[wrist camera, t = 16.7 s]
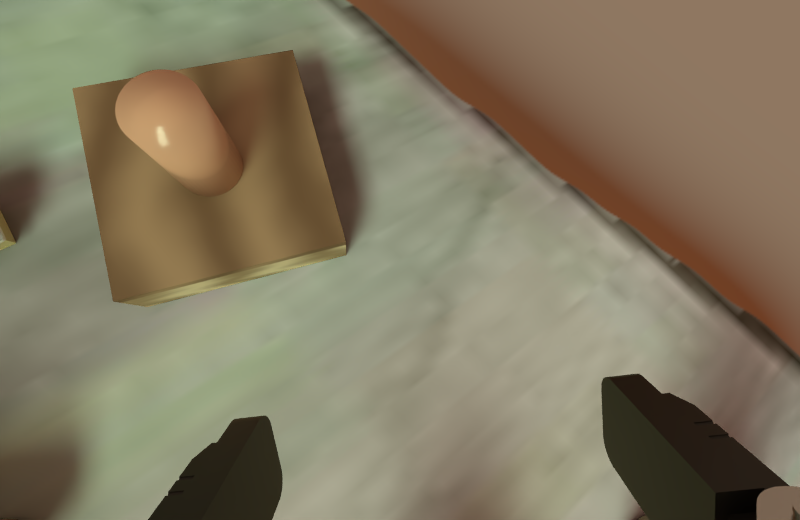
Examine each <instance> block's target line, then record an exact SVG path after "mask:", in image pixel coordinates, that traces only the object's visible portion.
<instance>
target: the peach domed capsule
mask: <svg viewBox="0 0 800 520" xmlns="http://www.w3.org/2000/svg"><path fill="white" fill-rule="evenodd" d="M115 115H116V120H117V122H118V125H119V127H120V128H121V130H122V131H123V133H124V134H125V135H126V136H127V137H128V138H129V139H131V140H132V141H133V142H134V143H135V144H136V145H138V146H139V147H140V148H141V149H142V150H143V151H144V152H146V153H147V154H148V155H149V156H150V157H151V158H152V159H154V160H155V161H156V162H157V163H158V164H159V165H160V166H162V167H163V168H164V169H165V170H166V171H167V172H168V173H170V174H171V175H172V176H173V177H174V178H175V179H176V180H178V181H179V182H180V183H181V184H182V185H183V186H184V187H186V188H187V189H188V190H189V191H191V192H193V193H194V194H197V195H200V196H206V197H212V196H218V195H221V194H224V193H226V192H228V191H229V190H231V189H232V188H233V187H234V186H235V185H236V184H237V183H238V181H239V180H240V177H241V175H242V172H243V160H242V156H241V154H240V152H239V151H238V149H237V147H236V146H235V144H234V143H233V141H232V140H231V138H230V136H229V135H228V133H227V132H226V130H225V128H224V127H223V125H222V124H221V122H220V121H219V119H218V117H217V116H216V114H215V113H214V111H213V109H212V108H211V106H210V105H209V103H208V102H207V100H206V98H205V97H204V95H203V94H202V92H201V90H200V89H199V87H198V86H197V85H196V84H195V83H194V82H193V81H192V80H191V79H190V78H188V77H187V76H185V75H183V74H181V73H178V72H175V71H171V70H152V71H148V72H145V73H142V74H140V75H138V76H136V77H134V78H133V79H132V80H130V81H129V82H128V83H127V84H126V85H125V86H124V87H123V89H122V90H121V92H120V93H119V95H118V98H117V101H116V105H115Z"/></svg>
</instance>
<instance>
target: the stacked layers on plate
mask: <svg viewBox="0 0 800 520" xmlns="http://www.w3.org/2000/svg"><path fill="white" fill-rule="evenodd" d="M15 243H16V242H15V240H14V238H13V236H12V233H11V231H10V229H9V227H8V225H7V223H6V221H5V219H4V217H3V214H2V212H1V210H0V250H2V249H4V248H6V247H9V246H11V245H13V244H15Z"/></svg>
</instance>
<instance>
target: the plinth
mask: <svg viewBox="0 0 800 520" xmlns="http://www.w3.org/2000/svg"><path fill="white" fill-rule="evenodd" d="M175 72H178V73H181V74H183V75H185V76H187V77H188V78H190V79H191V80H192V81H193V82H194V83H195V84H196V85H197V86H198V87H199V89H200V90H201V92H202V94H203V95H204V97H205V98H206V100H207V102H208V103H209V105H210V106H211V108H212V109H213V111H214V113H215V114H216V116H217V117H218V119H219V121H220V122H221V124H222V125H223V127H224V128H225V130H226V132H227V133H228V135H229V136H230V138H231V140H232V141H233V143H234V144H235V146H236V147H237V149H238V151H239V152H240V154H241V156H242V160H243V172H242V175H241V177H240V180H239V181H238V183H237V184H236V185H235V186H234V187H233V188H232V189H231V190H229V191H228V192H226V193H224V194H221V195H218V196H212V197H206V196H200V195H197V194H194V193H193V192H191V191H189V190H188V189H187V188H186V187H184V186H183V185H182V184H181V183H180V182H179V181H178V180H176V179H175V178H174V177H173V176H172V175H171V174H170V173H168V172H167V171H166V170H165V169H164V168H163V167H162V166H160V165H159V164H158V163H157V162H156V161H155V160H154V159H152V158H151V157H150V156H149V155H148V154H147V153H146V152H144V151H143V150H142V149H141V148H140V147H139V146H138V145H136V144H135V143H134V142H133V141H132V140H131V139H129V138H128V137H127V136H126V135H125V134H124V133H123V131H122V130H121V128H120V127H119V125H118V122H117V120H116V115H115V105H116V101H117V98H118V95H119V93H120V92H121V90H122V89H123V87H124V86H125V85H126V84H127V83H128V82H129V81H130V80H132V79H133V78H129V79H123V80H118V81H112V82H106V83H100V84H95V85H89V86H83V87H78V88H73V93H74V99H75V104H76V109H77V114H78V119H79V125H80V130H81V135H82V140H83V146H84V151H85V156H86V161H87V167H88V172H89V177H90V182H91V187H92V193H93V198H94V203H95V208H96V214H97V219H98V224H99V229H100V235H101V240H102V245H103V250H104V256H105V261H106V266H107V271H108V276H109V282H110V287H111V292H112V297H113V301H114V302H120V303H126V304H133V305H139V306H145V307H149V306H153V305H157V304H161V303H165V302H168V301H172V300H176V299H180V298H184V297H188V296H191V295H195V294H199V293H203V292H207V291H211V290H214V289H218V288H222V287H226V286H230V285H233V284H237V283H241V282H245V281H249V280H253V279H256V278H260V277H264V276H268V275H272V274H275V273H279V272H283V271H287V270H291V269H295V268H298V267H302V266H306V265H310V264H314V263H318V262H321V261H325V260H329V259H333V258H337V257H340V256H344V255H346V240H345V237H344V233H343V229H342V226H341V222H340V219H339V215H338V211H337V208H336V204H335V201H334V197H333V193H332V190H331V186H330V183H329V179H328V176H327V172H326V168H325V165H324V161H323V158H322V154H321V150H320V147H319V143H318V140H317V136H316V132H315V129H314V125H313V122H312V118H311V114H310V111H309V107H308V104H307V100H306V97H305V93H304V89H303V86H302V82H301V79H300V75H299V71H298V68H297V64H296V61H295V57H294V53H293V50H290V51H284V52H278V53H273V54H267V55H261V56H255V57H250V58H244V59H238V60H232V61H227V62H221V63H215V64H209V65H204V66H198V67H192V68H187V69H181V70H175Z"/></svg>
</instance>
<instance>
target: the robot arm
mask: <svg viewBox="0 0 800 520" xmlns="http://www.w3.org/2000/svg"><path fill="white" fill-rule="evenodd" d="M602 415H603V438H604V444H605V448H606V451H607V454H608V457H609V459H610V461H611V463H612V465H613V467H614V468H615V470H616V471H617V473H618V474H619V476H620V477H621V479H622V480H623V482H624V483H625V485H626V486H627V488H628V489H629V491H630V492H631V494H632V495H633V497H634V498H635V499H636V501H637V502H638V504H639V505H640V507H641V508H642V510H643V511H644V513H645V514H646V515H645V516H642V517H641V518H639V519H638V520H800V487H793V486H789V485H788V484H787V483H785V482H784V481H783V480H782V479H781V478H780V477H778V476H777V475H776V474H775V473H774V472H773V471H771V470H770V469H769V468H768V467H767V466H765V465H764V464H763V463H762V462H761V461H760V460H758V459H757V458H756V457H755V456H754V455H753V454H751V453H750V452H749V451H748V450H747V449H745V448H744V447H743V446H742V445H741V444H740V443H738V442H737V441H736V440H735V439H734V438H733V437H729V436H728V433H727V432H725V431H724V430H723V429H722V428H721V427H720V426H718V425H717V424H713V421H712V420H711V419H710V418H709V417H708V416H707V415H705V414H704V413H703V412H702V411H701V410H700V409H698V408H697V407H696V406H695V405H693V404H691V403H689V402H687V401H685V400H683V399H681V398H679V397H677V396H675V395H672V394H670V393H665V394H661V393H660V392H659V391H658V390H657V389H656V388H655V387H654V386H653V385H652V384H650V383H649V382H648V381H647V380H646V379H645V378H644V377H643V376H642V375H640V374H630V375H622V376H613V377H605V378H604V379H603V381H602ZM281 492H282V470H281V465H280V461H279V457H278V452H277V448H276V444H275V440H274V435H273V431H272V427H271V423H270V420H269V419H268V417H267V416H257V417H248V418H239V419H234V420H233V421H232V422H231V423H230V425H229V426H228V427H227V429H226V430H225V432H224V433H223V435H222V436H221V438H220V439H219V441H218V442H217V443H211V444H210V445H209V446H208V447H207V448H205V449H204V450H203V451H202V452H200V453H199V454H198V455H197V456H196V457H194V458H193V459H192V460H191V462H190V463H189V464H188V466H187V467H186V468H185V470H184V471H183V473H182V474H181V475H180V477H179V480H177V481H176V482H175V484H174V485H173V486H172V488H171V489H170V490H169V492H168V496H165V497H164V499H163V500H162V501H161V503H160V504H159V505H158V507H157V508H156V510H155V511H154V512H153V514H152V515H151V516H150V518H149V519H148V520H272V518H273V516H274V513H275V510H276V508H277V505H278V503H279V500H280V497H281Z"/></svg>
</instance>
